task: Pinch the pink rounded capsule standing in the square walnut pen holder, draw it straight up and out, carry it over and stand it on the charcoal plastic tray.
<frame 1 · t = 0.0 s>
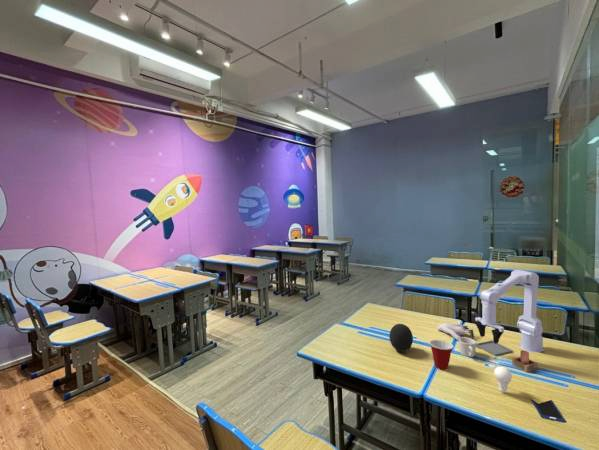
hand: (489, 339, 144), 10 cm above the table, fingers open, 7 cm apart
decorative egg: (401, 350, 157), on the table
yeti figurine: (455, 334, 174), on the table
holder: (524, 368, 136), on the table
cup: (468, 356, 148), on the table
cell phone: (546, 409, 110), on the table
lightbulb: (502, 392, 119), on the table
plastic cup: (441, 366, 140), on the table
tray: (493, 349, 153), on the table
pink rounded capsule: (524, 366, 136), point 1 cm above the table, touching holder
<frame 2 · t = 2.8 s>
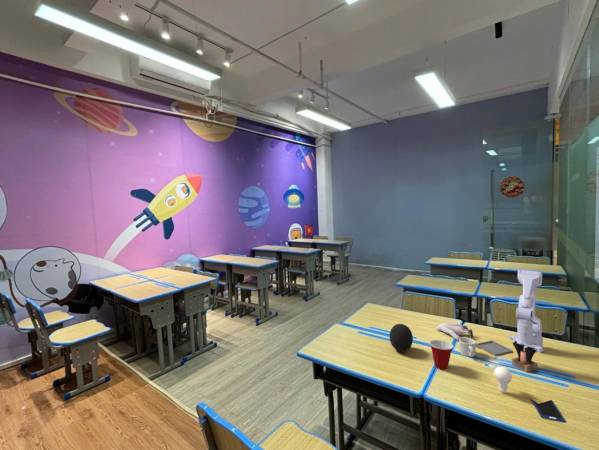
hand: (524, 359, 135), 4 cm above the table, fingers closed on pink rounded capsule, 3 cm apart
pink rounded capsule: (524, 366, 136), point 1 cm above the table, touching gripper, holder
everything else where it was.
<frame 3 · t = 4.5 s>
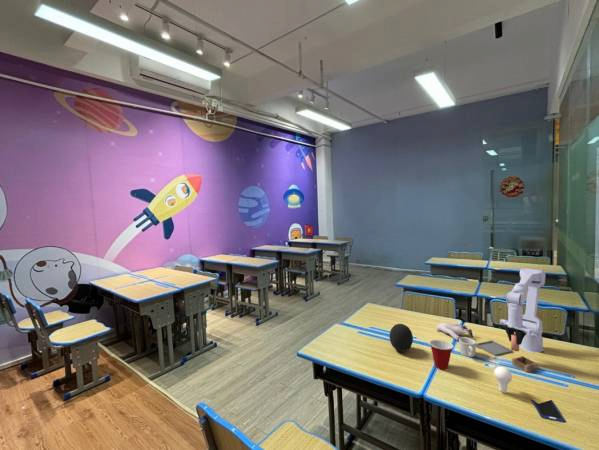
hand: (515, 342, 140), 10 cm above the table, fingers closed on pink rounded capsule, 3 cm apart
pink rounded capsule: (515, 349, 140), point 7 cm above the table, touching gripper
everything else where it was.
when the fingers open (6 cm above the table, at t = 6.5 s): pink rounded capsule drops 1 cm, resting on tray.
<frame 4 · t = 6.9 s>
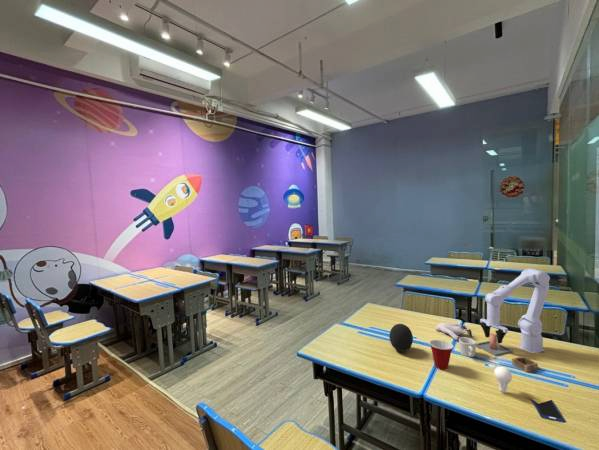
hand: (493, 339, 153), 6 cm above the table, fingers open, 7 cm apart
pink rounded capsule: (493, 348, 153), point 1 cm above the table, touching tray
everything else where it was.
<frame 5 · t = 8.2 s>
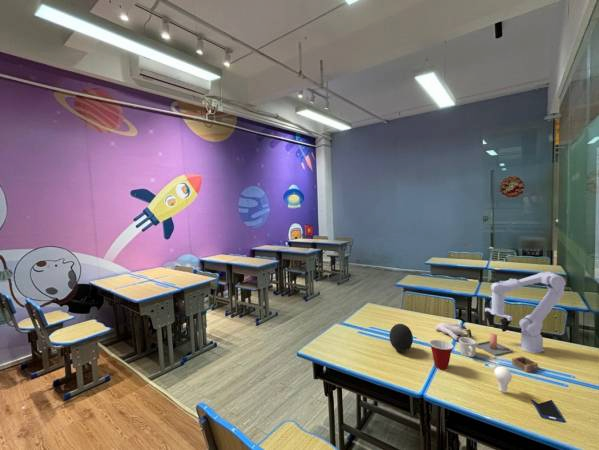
hand: (497, 328, 156), 10 cm above the table, fingers open, 7 cm apart
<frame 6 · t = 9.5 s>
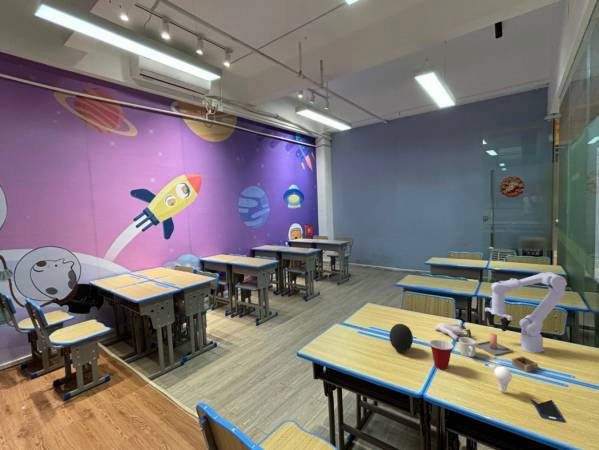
hand: (497, 328, 156), 10 cm above the table, fingers open, 7 cm apart
at the end: pink rounded capsule inside the target area on the tray (0.1 cm from its centre), point 0.8 cm above the tray's base; pink rounded capsule tilted 0°; the gripper is holding nothing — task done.
